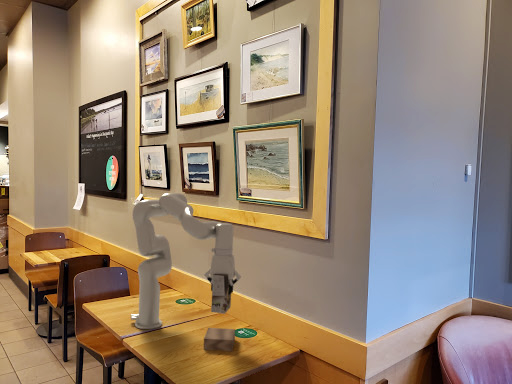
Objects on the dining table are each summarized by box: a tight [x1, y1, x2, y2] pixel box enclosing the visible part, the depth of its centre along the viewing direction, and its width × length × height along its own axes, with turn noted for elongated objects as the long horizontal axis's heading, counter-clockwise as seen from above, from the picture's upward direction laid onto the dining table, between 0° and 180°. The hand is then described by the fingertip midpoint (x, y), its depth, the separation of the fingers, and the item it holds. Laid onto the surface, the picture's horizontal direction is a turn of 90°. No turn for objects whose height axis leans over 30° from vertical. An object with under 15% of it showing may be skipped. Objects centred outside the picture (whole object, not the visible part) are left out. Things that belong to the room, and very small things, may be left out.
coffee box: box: [210, 274, 232, 314], centre depth 167 cm, size 9×6×16 cm
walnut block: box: [203, 327, 236, 352], centre depth 167 cm, size 12×12×5 cm
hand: (221, 293), depth 167 cm, fingers closed on coffee box, 6 cm apart
